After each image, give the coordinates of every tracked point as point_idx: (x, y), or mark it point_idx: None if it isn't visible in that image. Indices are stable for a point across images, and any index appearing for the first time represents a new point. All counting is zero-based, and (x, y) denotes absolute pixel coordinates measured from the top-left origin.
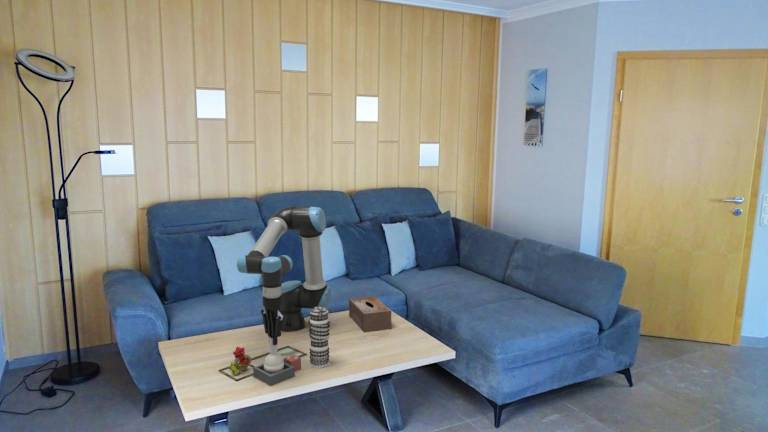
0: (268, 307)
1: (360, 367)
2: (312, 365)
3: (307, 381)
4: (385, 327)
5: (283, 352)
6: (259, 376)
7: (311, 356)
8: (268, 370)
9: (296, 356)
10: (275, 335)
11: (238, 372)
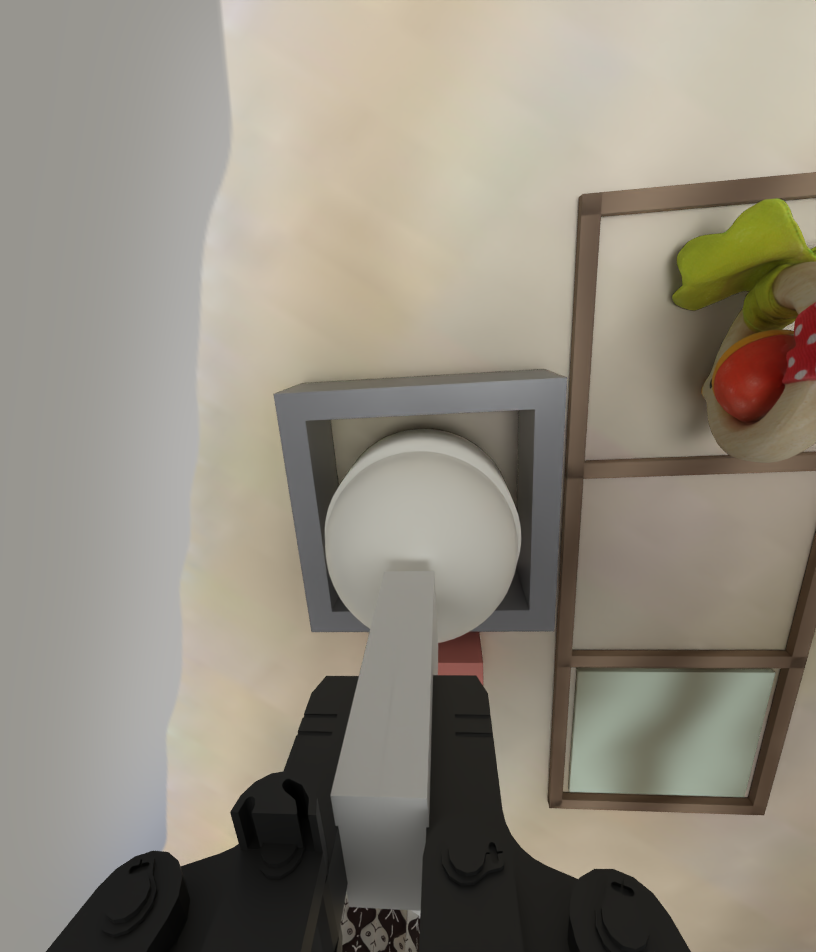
0: None
1: (204, 855)
2: None
3: (216, 597)
4: None
5: (702, 739)
6: (452, 377)
7: None
8: (383, 443)
9: None
10: (98, 935)
11: (682, 275)
